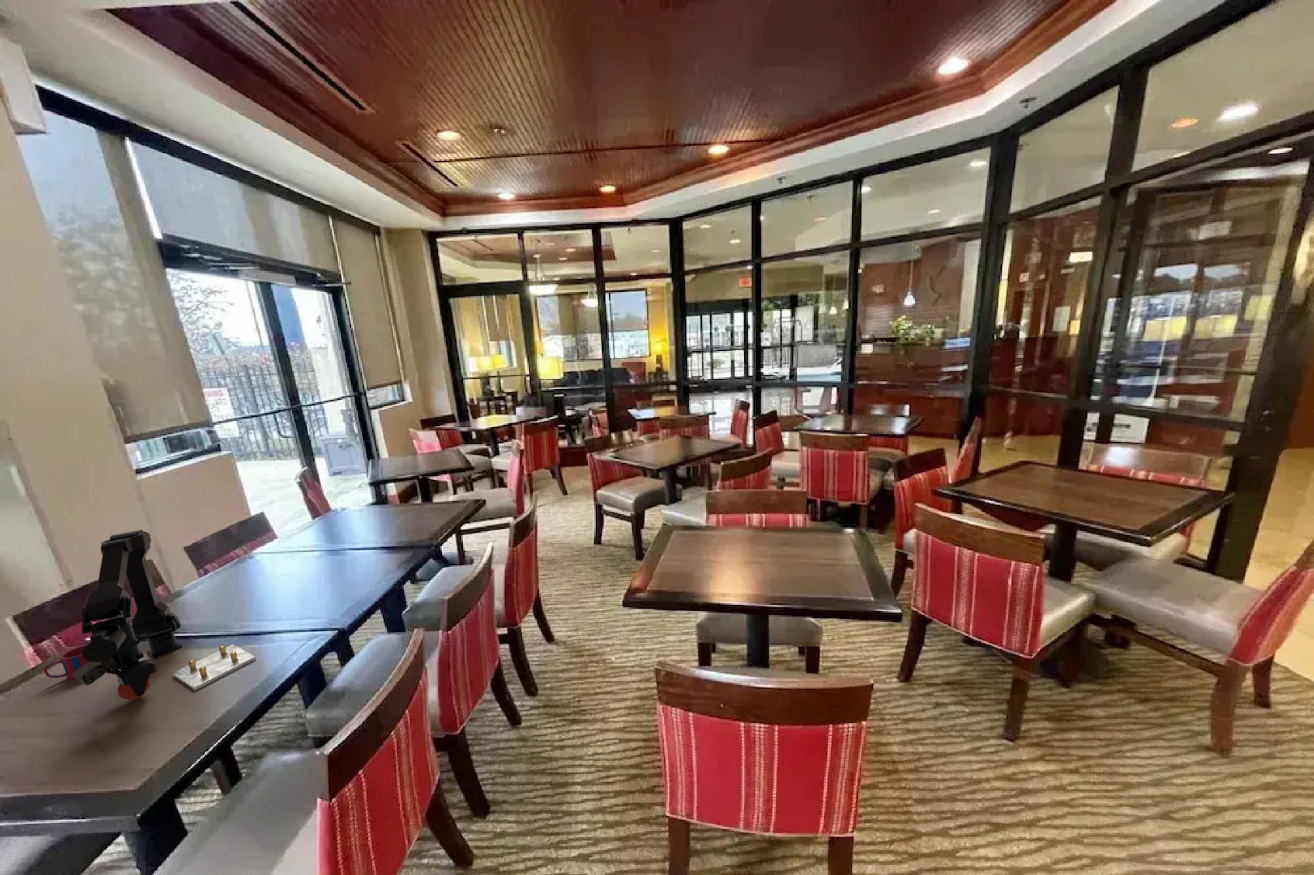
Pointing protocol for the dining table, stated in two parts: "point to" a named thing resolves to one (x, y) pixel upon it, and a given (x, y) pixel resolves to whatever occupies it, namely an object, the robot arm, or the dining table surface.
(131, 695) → the red rounded piece
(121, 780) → the dining table surface
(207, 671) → the plate
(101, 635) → the robot arm
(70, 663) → the mug
